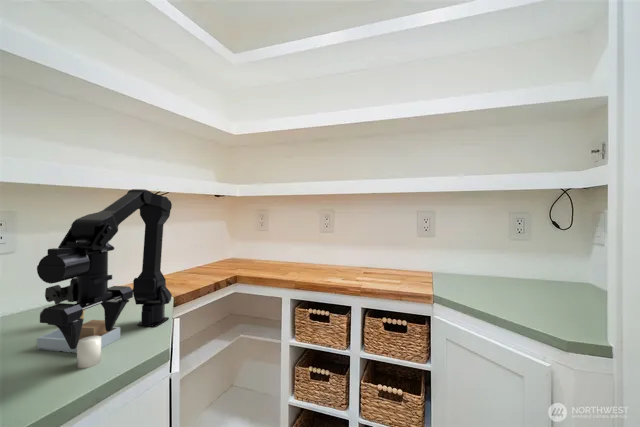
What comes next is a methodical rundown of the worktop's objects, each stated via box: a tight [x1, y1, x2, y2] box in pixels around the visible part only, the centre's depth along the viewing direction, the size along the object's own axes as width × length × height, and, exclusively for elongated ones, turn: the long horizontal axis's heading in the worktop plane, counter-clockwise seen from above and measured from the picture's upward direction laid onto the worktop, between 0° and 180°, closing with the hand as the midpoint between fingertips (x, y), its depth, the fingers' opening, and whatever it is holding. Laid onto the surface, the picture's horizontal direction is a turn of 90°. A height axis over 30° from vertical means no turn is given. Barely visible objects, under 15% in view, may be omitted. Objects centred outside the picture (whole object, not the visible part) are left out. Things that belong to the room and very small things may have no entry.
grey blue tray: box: [36, 326, 121, 354], centre depth 77 cm, size 9×15×3 cm, turn 84°
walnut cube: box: [79, 319, 110, 340], centre depth 76 cm, size 5×5×5 cm
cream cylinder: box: [76, 336, 102, 369], centre depth 68 cm, size 4×4×6 cm
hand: (92, 339), depth 68 cm, fingers open, 9 cm apart
